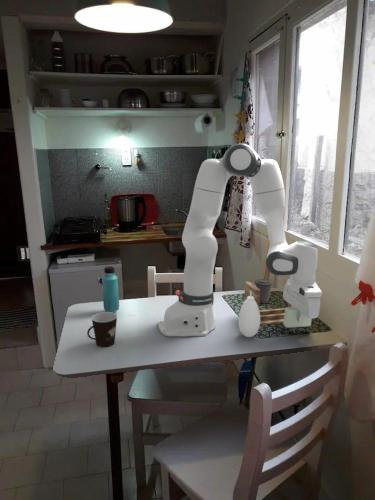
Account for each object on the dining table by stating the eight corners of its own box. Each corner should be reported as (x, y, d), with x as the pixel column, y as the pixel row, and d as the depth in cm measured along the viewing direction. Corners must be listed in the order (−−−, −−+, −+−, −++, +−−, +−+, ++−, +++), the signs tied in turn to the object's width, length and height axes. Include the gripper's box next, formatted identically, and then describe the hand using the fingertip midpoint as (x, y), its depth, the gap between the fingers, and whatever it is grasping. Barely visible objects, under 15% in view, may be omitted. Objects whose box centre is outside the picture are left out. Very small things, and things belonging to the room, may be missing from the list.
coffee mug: (112, 335, 140) (111, 310, 138) (121, 345, 133) (120, 318, 131) (81, 343, 134) (79, 317, 132) (89, 354, 127) (87, 326, 125)
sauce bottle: (236, 331, 144) (238, 286, 140) (257, 331, 145) (259, 286, 140) (239, 341, 137) (241, 294, 133) (261, 341, 137) (264, 294, 133)
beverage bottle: (122, 313, 159) (120, 267, 155) (107, 317, 156) (105, 270, 151) (115, 308, 165) (113, 264, 160) (101, 311, 161) (98, 266, 156)
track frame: (253, 326, 149) (255, 290, 145) (243, 316, 158) (245, 282, 154) (303, 321, 154) (307, 286, 150) (291, 311, 163) (294, 278, 160)
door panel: (287, 328, 140) (289, 310, 139) (283, 324, 143) (285, 307, 142) (311, 326, 143) (314, 309, 141) (307, 323, 146) (309, 306, 144)
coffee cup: (257, 304, 170) (258, 283, 168) (250, 298, 178) (251, 277, 175) (274, 303, 172) (275, 282, 169) (267, 297, 179) (268, 277, 177)
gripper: (280, 276, 149) (277, 309, 152) (308, 294, 129) (304, 332, 133) (295, 275, 150) (291, 308, 153) (325, 294, 131) (320, 330, 134)
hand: (297, 319), depth 143 cm, fingers closed on door panel, 2 cm apart
